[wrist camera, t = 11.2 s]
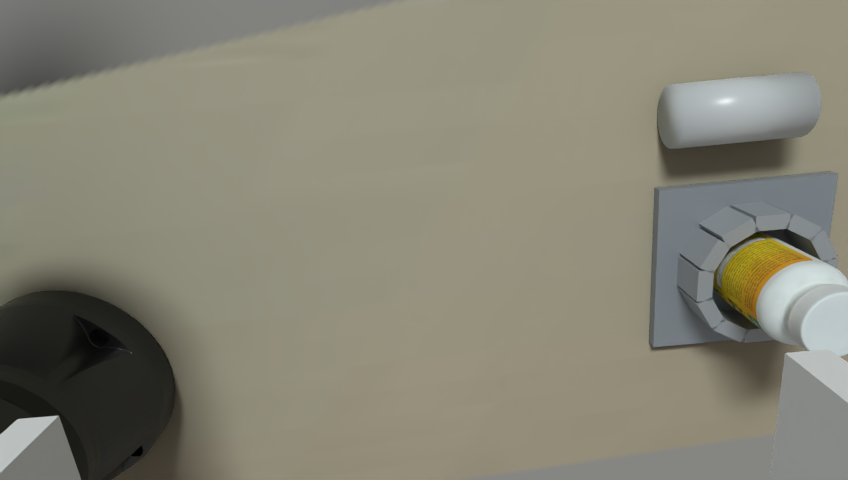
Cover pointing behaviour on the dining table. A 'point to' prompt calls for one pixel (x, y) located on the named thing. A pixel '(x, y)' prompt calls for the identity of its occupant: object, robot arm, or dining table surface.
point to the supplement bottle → (786, 293)
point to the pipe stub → (738, 110)
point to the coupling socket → (727, 247)
